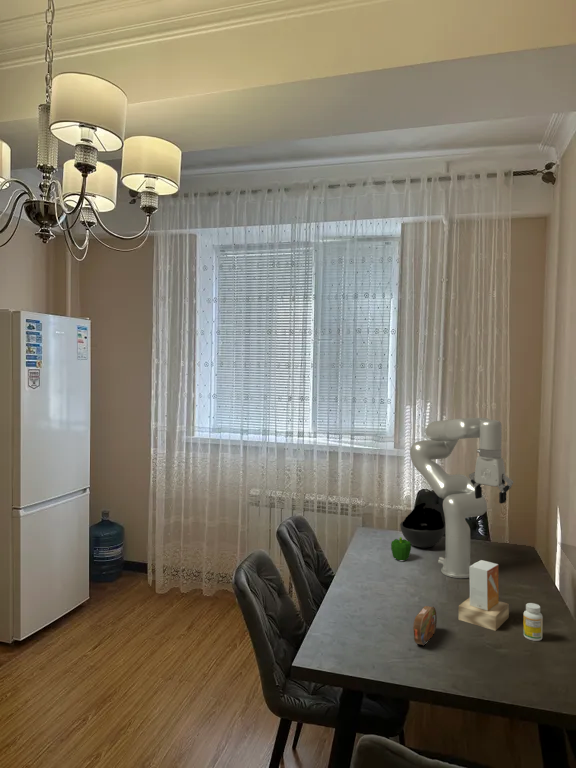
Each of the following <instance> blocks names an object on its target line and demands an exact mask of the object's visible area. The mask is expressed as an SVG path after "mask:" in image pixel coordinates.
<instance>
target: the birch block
mask: <svg viewBox="0 0 576 768" xmlns="http://www.w3.org/2000/svg"><path fill="white" fill-rule="evenodd" d="M509 614H510V604H509V603H507V602H503V601H500V600H499V603H498V604H496V605H495V606H493V607H492V608H490V609H489V610H488V611H487V610H483V609H480V608H477V607H474V606H471V605H470V596H469V597H468V598H467V599H466V600H464V601H463V602H462V603H460V604H459V605H458V620H459V621H462V622H465V623H469V624H472V625H476V626H479V627H482V628H485V629H488V630H491V631H494V632H495V631H497V630H498V629H499V628H500V627H501V626H503V624H504V623H505V622H506V621H507V620H508V619H509V616H510V615H509Z"/></svg>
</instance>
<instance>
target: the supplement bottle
mask: <svg viewBox="0 0 576 768" xmlns="http://www.w3.org/2000/svg"><path fill="white" fill-rule="evenodd" d="M522 614H523V618H522V619H523V625H522V626H523V636H524V637H525V639H527V640H530V641H534V642H539V641H542V639H543V630H544V629H543V628H544V627H543V621H544V619H543V614H542V613H541V606H540V605H539V604H538V603H534V602H528V603H526V604H525V610H524V612H523V613H522Z"/></svg>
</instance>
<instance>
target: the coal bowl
mask: <svg viewBox="0 0 576 768" xmlns="http://www.w3.org/2000/svg"><path fill="white" fill-rule="evenodd" d="M426 504H427V503H425V502H422V503H420V504H417V505H416V506H414V509H412V510H411V512H410V513H408V514H407V516H406V517H404V520H403V521H402V522H400V523H399V524H400V525H399V526H400V531H401V534H402V535H403V537H404V538H405V540H407V541H410V543H411V546H415V547H416V548H422V549H423V548H430V547H433V546H435V545H437V544H438V543H439V542H440V541H441V540H442V538H443V537H444V536H445V535H444V534H445V523H444V521H443V517H442V516H443V515H442V513H441V512H440V511H439V510H437V509H436V508H432V507H426Z"/></svg>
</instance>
